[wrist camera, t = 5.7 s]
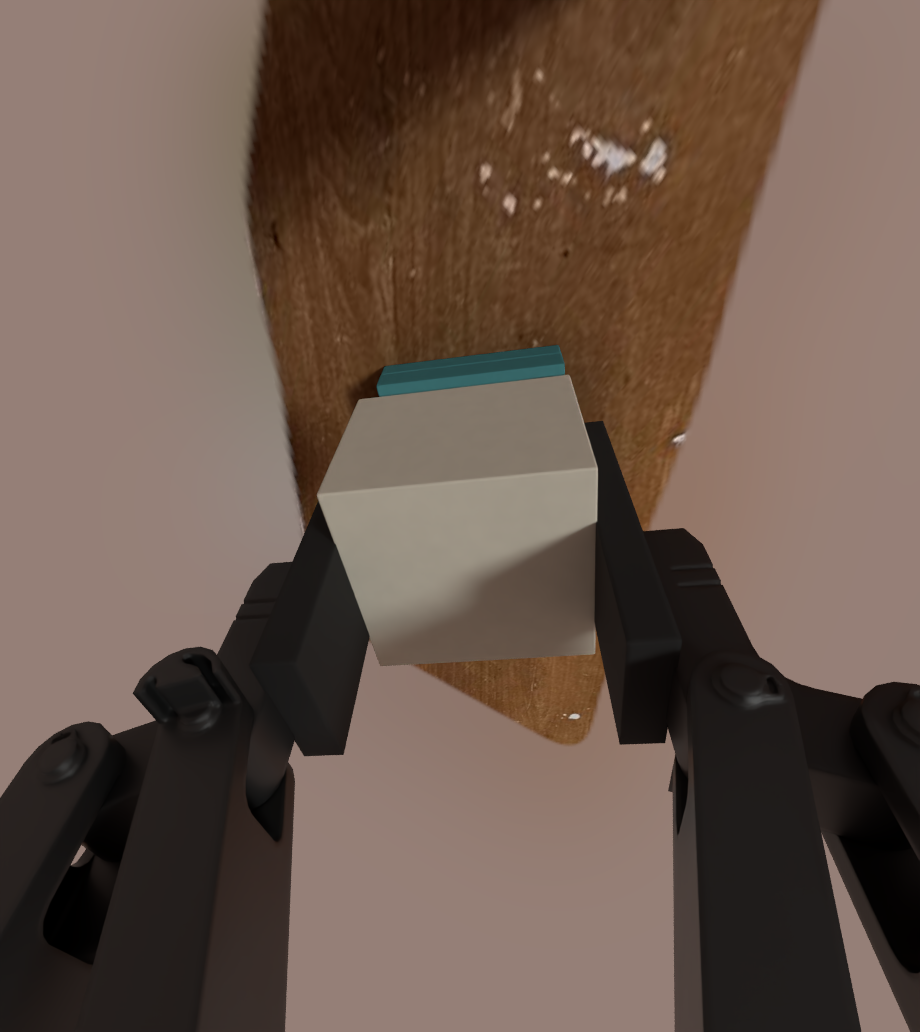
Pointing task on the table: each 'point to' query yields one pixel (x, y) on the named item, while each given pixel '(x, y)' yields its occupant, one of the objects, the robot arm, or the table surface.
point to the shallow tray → (471, 371)
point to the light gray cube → (468, 522)
